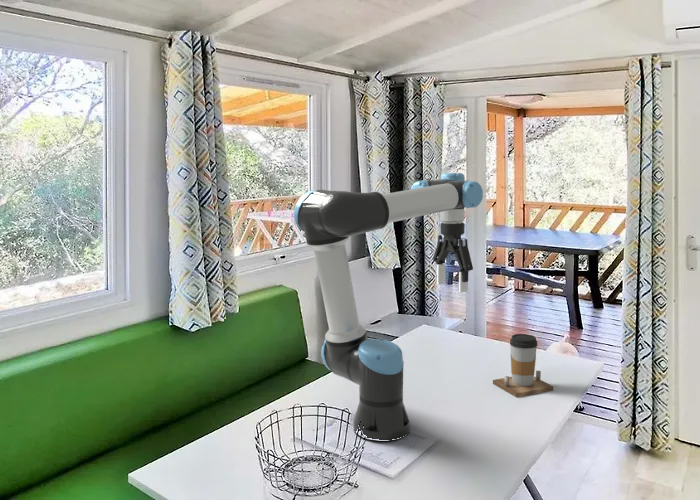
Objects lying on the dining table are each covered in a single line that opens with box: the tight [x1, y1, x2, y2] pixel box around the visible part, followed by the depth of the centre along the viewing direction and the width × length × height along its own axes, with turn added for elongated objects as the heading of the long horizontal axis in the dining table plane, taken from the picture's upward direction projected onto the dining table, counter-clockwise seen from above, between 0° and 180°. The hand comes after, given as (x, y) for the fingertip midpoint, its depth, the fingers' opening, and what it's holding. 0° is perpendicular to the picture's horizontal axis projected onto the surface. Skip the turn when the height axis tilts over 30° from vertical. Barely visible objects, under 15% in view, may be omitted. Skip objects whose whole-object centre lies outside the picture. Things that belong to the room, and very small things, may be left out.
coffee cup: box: [509, 333, 538, 387], centre depth 180 cm, size 8×8×15 cm
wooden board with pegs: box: [492, 370, 555, 398], centre depth 181 cm, size 14×12×4 cm
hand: (451, 287), depth 184 cm, fingers open, 13 cm apart
